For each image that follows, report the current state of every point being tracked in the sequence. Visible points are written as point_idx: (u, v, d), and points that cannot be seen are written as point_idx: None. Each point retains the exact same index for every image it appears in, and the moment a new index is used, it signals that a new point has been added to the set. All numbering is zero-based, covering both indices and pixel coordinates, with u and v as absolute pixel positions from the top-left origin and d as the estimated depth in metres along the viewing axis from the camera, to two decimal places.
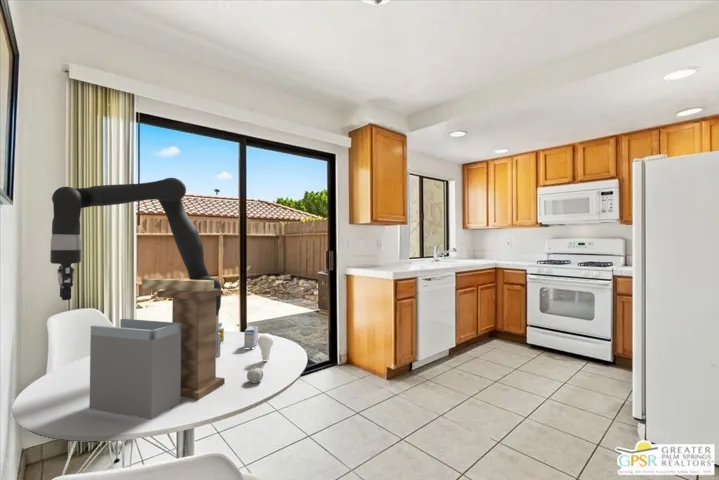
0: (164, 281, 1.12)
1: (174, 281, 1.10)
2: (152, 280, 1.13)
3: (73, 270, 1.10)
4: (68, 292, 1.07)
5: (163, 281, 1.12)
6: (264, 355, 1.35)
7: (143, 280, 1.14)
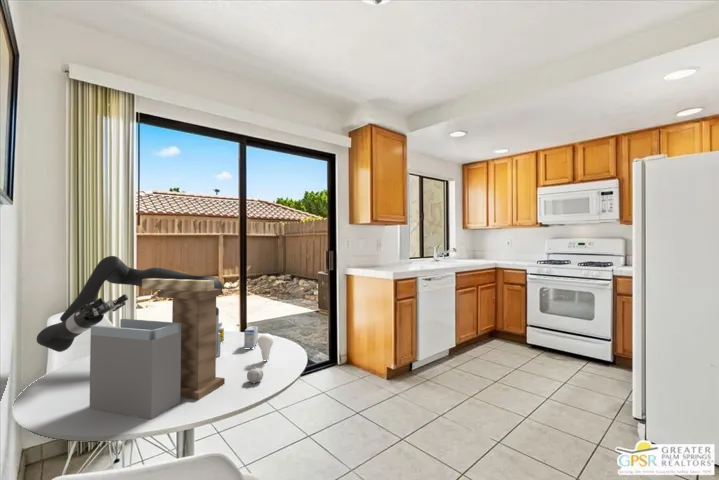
0: (164, 281, 1.12)
1: (174, 281, 1.10)
2: (152, 280, 1.13)
3: None
4: (94, 303, 1.14)
5: (163, 281, 1.12)
6: (264, 355, 1.35)
7: (143, 280, 1.14)
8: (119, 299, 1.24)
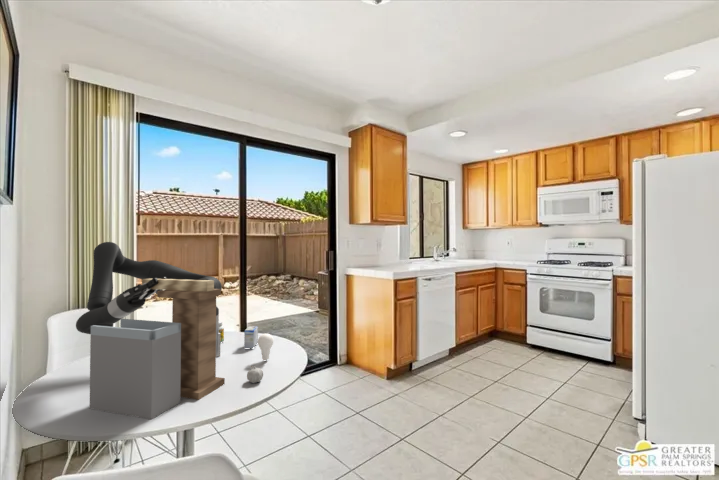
0: (164, 281, 1.12)
1: (174, 281, 1.10)
2: None
3: None
4: (148, 283, 1.12)
5: (163, 281, 1.12)
6: (264, 355, 1.35)
7: (143, 280, 1.14)
8: None
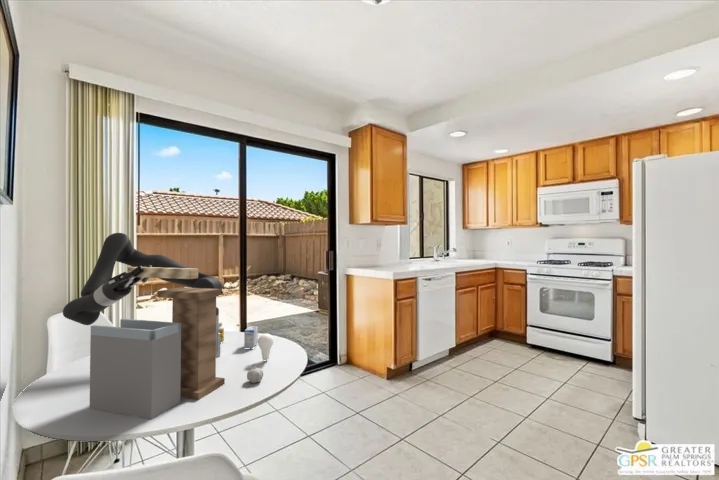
0: (149, 269, 1.13)
1: (159, 269, 1.12)
2: None
3: (120, 277, 1.16)
4: (133, 270, 1.13)
5: (148, 269, 1.13)
6: (264, 355, 1.35)
7: (129, 268, 1.15)
8: None
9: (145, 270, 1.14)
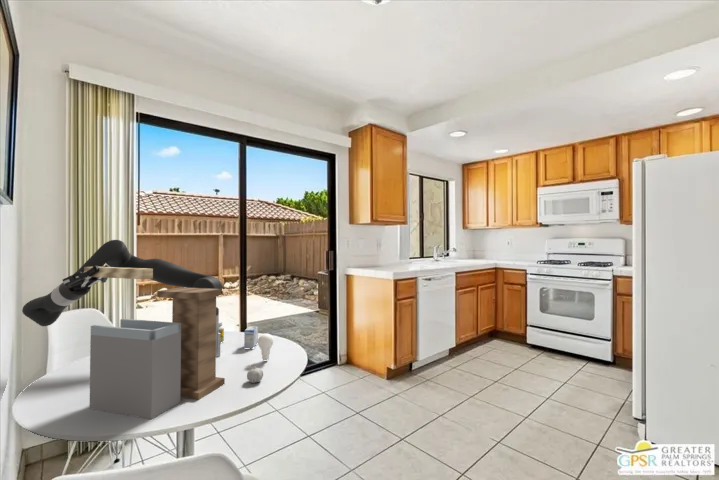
0: (104, 269, 1.12)
1: (113, 269, 1.11)
2: None
3: (76, 277, 1.15)
4: (89, 270, 1.12)
5: (103, 269, 1.12)
6: (264, 355, 1.35)
7: (85, 268, 1.14)
8: None
9: (100, 270, 1.12)
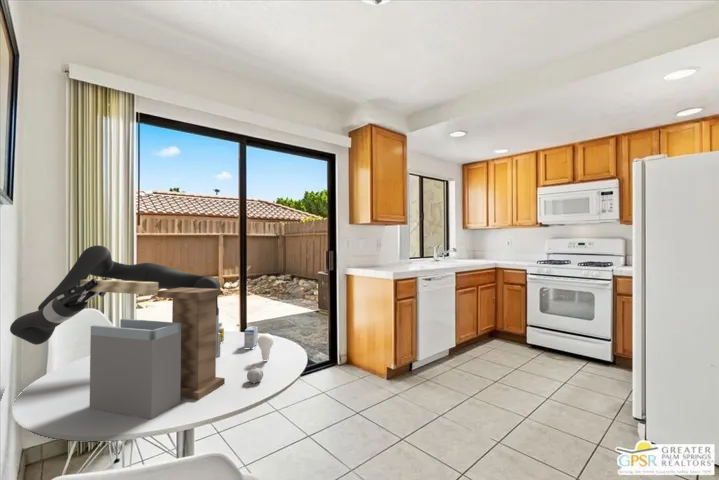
0: (103, 282, 1.00)
1: (114, 283, 0.99)
2: None
3: (72, 291, 1.03)
4: (86, 284, 1.00)
5: (102, 282, 1.00)
6: (264, 355, 1.35)
7: (81, 281, 1.02)
8: None
9: (99, 283, 1.01)
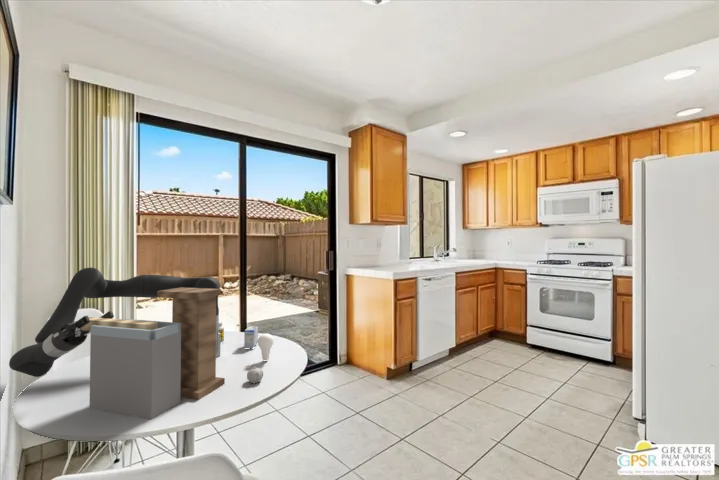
0: (102, 322, 1.00)
1: (113, 323, 0.99)
2: (90, 321, 1.01)
3: None
4: (78, 322, 0.98)
5: (101, 322, 1.00)
6: (264, 355, 1.35)
7: None
8: (103, 317, 1.06)
9: (98, 323, 1.00)
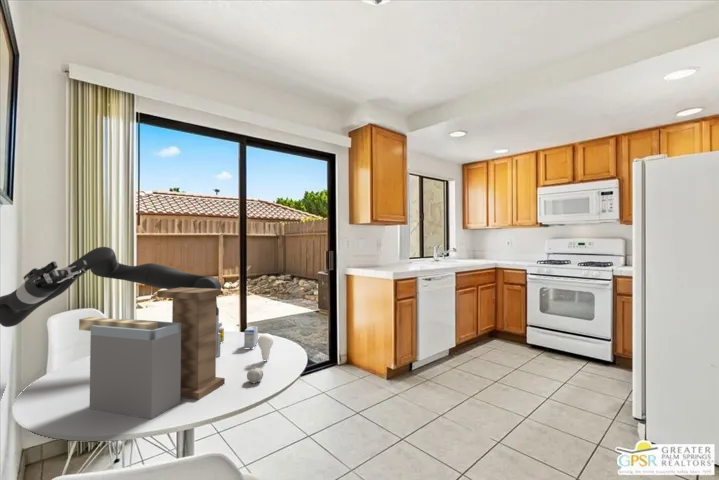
0: (102, 322, 1.00)
1: (113, 323, 0.99)
2: (90, 321, 1.01)
3: None
4: (45, 267, 1.01)
5: (101, 322, 1.00)
6: (264, 355, 1.35)
7: (80, 320, 1.02)
8: (77, 266, 1.10)
9: (98, 323, 1.00)
